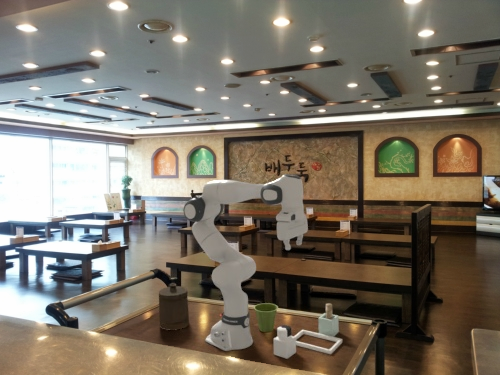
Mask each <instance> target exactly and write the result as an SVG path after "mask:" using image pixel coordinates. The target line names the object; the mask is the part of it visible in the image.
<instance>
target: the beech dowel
mask: <svg viewBox="0 0 500 375" xmlns="http://www.w3.org/2000/svg"><path fill="white" fill-rule="evenodd" d="M325 313H326V319H330V320H332V319H333V318H332V315H333V304H332V303H330V302H329V303H325Z"/></svg>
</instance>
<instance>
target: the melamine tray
mask: <svg viewBox="0 0 500 375" xmlns="http://www.w3.org/2000/svg"><path fill="white" fill-rule="evenodd" d="M303 335H306V336H310V337H314V338H319V339H322V340H328V341H331V342H335V343H334V344H333V345H332V346H331V347H330V348H326V347H321V346H319V345H318V346H317V345H314V344H310V343H307V342H302V341H299V340H298V339H299V338H300V337H302V336H303ZM294 337H296V347H300V348H303V349H307V351H309V352H310V350H311V352H312V353H316V354H317V352H318V354H319V355H320V354H321V353H322V356H323V355H324V356H325V354H326V357H327V356H328V357H331V355H332V354H333V353H334V352H335V351H336V350H337V349H338V348H339V347H340V346H341V345H342V343H343V338H340V337H336V336H334V337H332V336H328V335H323V334H319V332H314V331H310V330H305V329H301V330H300V331H298V333H296V334H295V335H294ZM308 349H309V350H308ZM319 352H320V353H319ZM323 353H324V354H323Z"/></svg>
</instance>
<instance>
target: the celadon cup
mask: <svg viewBox="0 0 500 375" xmlns="http://www.w3.org/2000/svg"><path fill="white" fill-rule="evenodd" d="M332 318H333V319H332V320H330V319H326V312H324V313H322V314H321V315H320V316H319V317H318V318H317V319H318V333H319V334H323V335H328V336H332V337H336V335H337V334H339V332H340V330H339V325H340V324H339V315H337V314H332Z"/></svg>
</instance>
